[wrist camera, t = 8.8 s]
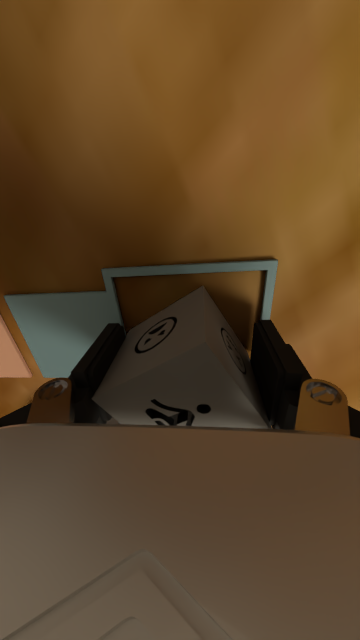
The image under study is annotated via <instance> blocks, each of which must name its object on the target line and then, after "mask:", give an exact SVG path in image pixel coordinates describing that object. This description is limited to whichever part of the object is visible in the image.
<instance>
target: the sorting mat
mask: <svg viewBox="0 0 360 640" xmlns="http://www.w3.org/2000/svg"><path fill="white" fill-rule="evenodd" d="M277 265H278V260H277V259H275V260H255V261H236V262H217V263H197V264H178V265H159V266H139V267H120V268H103V269H101V271H102V275H103V279H104V283H105V287H106V291H90V292H65V293H40V294H15V295H5V296H4V298H5V300H6V302H7V304H8V306H9V308H10V310H11V312H12V314H13V316H14V318H15V320H16V322H17V324H18V326H19V328H20V330H21V332H22V334H23V336H24V338H25V340H26V343H27V345H28V347H29V349H30V351H31V353H32V355H33V357H34V359H35V361H36V363H37V365H38V367H39V369H40V371H41V373H42V375H43V377H46V378H60V377H61V378H68V377H69V376H70V374H71V371H72V370H73V369H74V367H75V366H76V365H77V363H78V362H79V361H80V360H81V358H82V357H83V356H84V354H85V353H86V352H87V350H88V349H89V348H90V346H91V345H92V344H93V343H94V341H95V340H96V339H97V337H98V336H99V335H100V333H101V332H102V331H103V329H104V328H105V327H106V326H107V324H108V323H119V324H120V326H123V327H124V324H123V320H122V316H121V311H120V307H119V302H118V298H117V293H116V289H115V285H114V280H113V277H126V276H147V275H169V274H190V273H211V272H232V271H254V270H266V276H265V284H264V292H263V301H262V309H261V317H260V320H270V313H271V306H272V300H273V293H274V286H275V279H276V272H277ZM124 331H125V329H124ZM125 336H126V333H125ZM31 376H32V373H31V371H30V370H29V368H28V366H27V364H26V362H25V360H24V358H23V356H22V354H21V353H20V351H19V349H18V347H17V345H16V343H15V341H14V339H13V337H12V336H11V334H10V332H9V330H8V328H7V326H6V324H5V322H4V320H3V319H2V317H1V315H0V377H31Z"/></svg>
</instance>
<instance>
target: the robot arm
mask: <svg viewBox="0 0 360 640" xmlns="http://www.w3.org/2000/svg"><path fill="white" fill-rule="evenodd" d="M125 338H126V336H125V331H124V327H123V326H120V324H119V323H108V324H107V326H106V327H105V328H104V329H103V331H102V332H101V333H100V335H99V336H98V337H97V339H96V340H95V341H94V343H93V344H92V345H91V346H90V348H89V349H88V350H87V352H86V353H85V354H84V356H83V357H82V358H81V360H80V361H79V362H78V363H77V365H76V366H75V367H74V369H73V370H72V371H71V374H70V376H69V377H68V378H61V377H60V378H55V379H53V380H50V381H48V382H46V383H44V384H43V385H42V386H40V387H39V388H38V390H37V391H36V392H35V394H34V397H33V401H32V403H30V404H28V405H26V406H24V407H22V408H20V409H18V410H16V411H14V412H12V413H10V414H8V415H6V416H4V417H2V418H0V640H360V411H358V410H356V409H354V408H352V407H350V406H348V402H347V397H346V395H345V394H344V392H343V391H342V390H341V389H340V388H338V387H337V386H336V385H334V384H332V383H330V382H327V381H325V380H320V379H312V378H311V376H310V374H309V373H308V371H307V370H306V368H305V367H304V365H303V364H302V362H301V360H300V359H299V357H298V356H297V354H296V353H295V351H294V350H293V348H292V346H291V345H290V344H285V342H284V341H283V339H282V337H281V336H280V334H279V332H278V331H277V329H276V328H275V326H274V324H273V323H272V321H271V320H259V321H258V323H255V324H254V331H253V340H252V349H251V358H250V363H251V366H252V369H253V372H254V375H255V379H256V382H257V385H258V388H259V391H260V394H261V398H262V401H263V404H264V407H265V410H266V413H267V417H268V420H269V423H270V424H271V426H272V429H260V428H231V427H203V426H169V425H134V424H106V423H107V421H109V420H111V418H112V416H111V415H110V414H109V413H107V412H106V411H105V410H104V409H103V408H102V407H100V406H99V405H98V404H97V403H96V402H94V401H93V400H92V397H93V395H94V394H95V392H96V390H97V389H98V388H99V386H100V384H101V382H102V380H103V378H104V377H105V375H106V373H107V371H108V369H109V367H110V366H111V364H112V362H113V360H114V358H115V356H116V355H117V353H118V351H119V349H120V347H121V346H122V344H123V342H124V340H125Z"/></svg>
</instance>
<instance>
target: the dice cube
mask: <svg viewBox="0 0 360 640" xmlns="http://www.w3.org/2000/svg"><path fill="white" fill-rule="evenodd" d="M92 400H93V401H94V402H96V403H97V404H98V405H99V406H100V407H102V408H103V409H104V410H105V411H106V412H107V413H109V414H110V415H111V416H112V417H113V418H114V419H116V420H117V421H118V422H119V423H120V424H134V425H169V426H203V427H231V428H260V429H272V427H271V424H270V423H269V420H268V417H267V413H266V410H265V407H264V404H263V401H262V398H261V394H260V391H259V388H258V385H257V382H256V379H255V375H254V372H253V369H252V366H251V363H250V358H249V355H248V353H247V351H246V350H245V348H244V347H243V345H242V344H241V342H240V341H239V339H238V338H237V336H236V335H235V333H234V332H233V330H232V329H231V327H230V326H229V324H228V322H227V321H226V319H225V318H224V316H223V315H222V313H221V312H220V310H219V309H218V307H217V306H216V304H215V303H214V301H213V300H212V298H211V297H210V295H209V294H208V292H207V291H206V289H205V288H204V286H201V287H200V288H198V289H196V290H195V291H193V292H191V293H190V294H188V295H186V296H185V297H183V298H181V299H180V300H178V301H176V302H175V303H173V304H172V305H170V306H168V307H167V308H165V309H163V310H162V311H160V312H158V313H157V314H155V315H153V316H152V317H150V318H148V319H147V320H145V321H144V322H142V323H140V324H139V325H137V326H135V327H134V328H132V329H130V330H129V332H128V334H127V336H126V338H125V340H124V342H123V344H122V346H121V347H120V349H119V351H118V353H117V355H116V356H115V358H114V360H113V362H112V364H111V366H110V367H109V369H108V371H107V373H106V375H105V377H104V378H103V380H102V382H101V384H100V386H99V388H98V389H97V390H96V392H95V394H94V395H93V397H92Z"/></svg>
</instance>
